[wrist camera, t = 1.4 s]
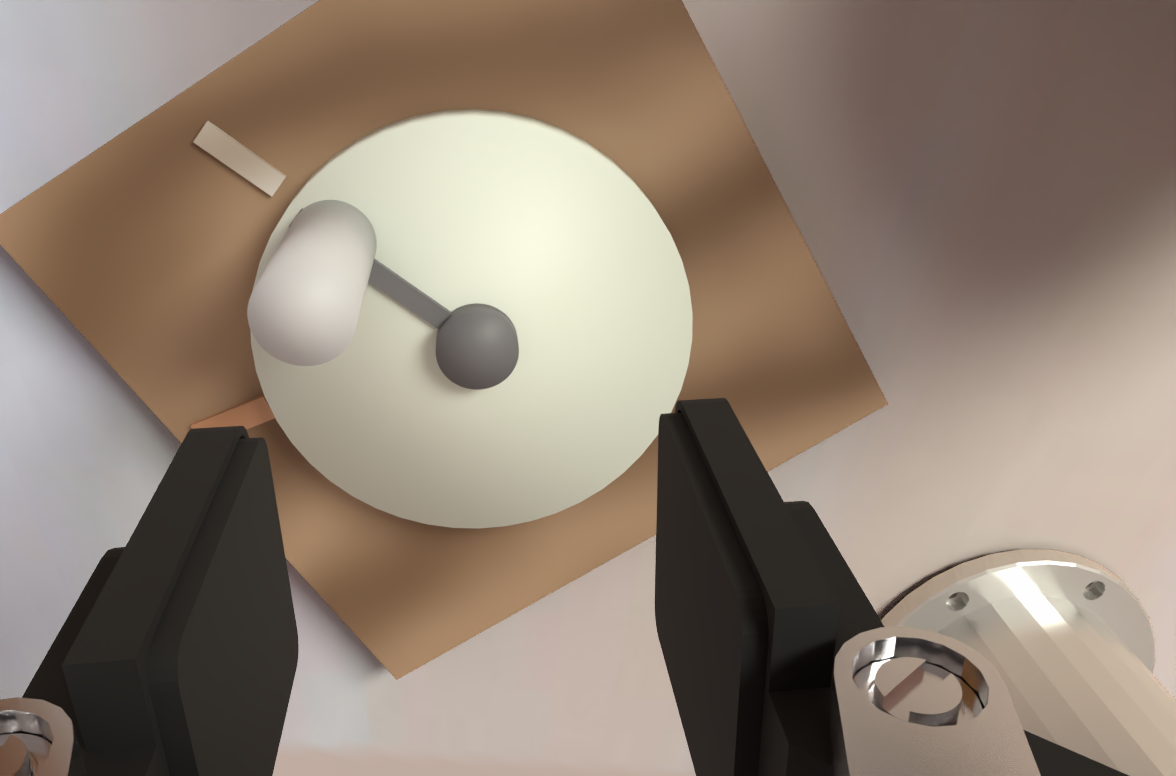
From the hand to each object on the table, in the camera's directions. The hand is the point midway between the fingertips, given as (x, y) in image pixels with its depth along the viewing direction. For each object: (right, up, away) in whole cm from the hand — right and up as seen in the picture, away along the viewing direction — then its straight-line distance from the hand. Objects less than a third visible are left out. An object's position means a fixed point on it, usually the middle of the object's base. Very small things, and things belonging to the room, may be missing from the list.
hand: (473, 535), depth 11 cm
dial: (-2, +4, +20) cm, 20 cm away
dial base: (-2, +4, +21) cm, 22 cm away
